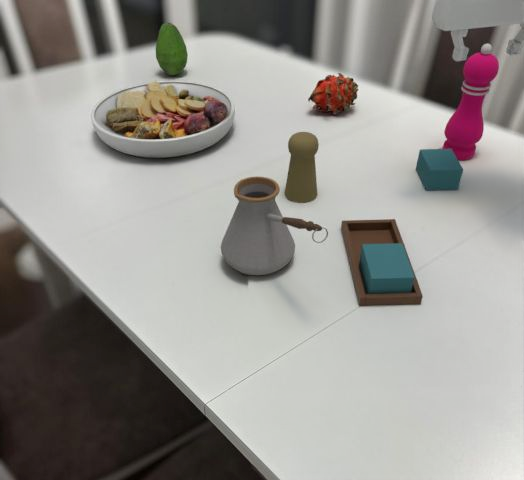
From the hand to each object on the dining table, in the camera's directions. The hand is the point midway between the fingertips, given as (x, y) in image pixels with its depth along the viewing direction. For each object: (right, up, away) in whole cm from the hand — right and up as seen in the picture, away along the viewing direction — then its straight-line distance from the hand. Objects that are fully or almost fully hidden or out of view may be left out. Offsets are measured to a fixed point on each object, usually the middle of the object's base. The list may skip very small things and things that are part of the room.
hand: (486, 56), depth 82 cm
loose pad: (-2, -13, +18) cm, 23 cm away
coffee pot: (-33, -35, -1) cm, 48 cm away
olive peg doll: (-28, -17, +15) cm, 36 cm away
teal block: (-17, -35, -3) cm, 39 cm away
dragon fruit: (-19, +9, +39) cm, 44 cm away
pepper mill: (+5, -6, +25) cm, 26 cm away
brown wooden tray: (-17, -33, 0) cm, 37 cm away
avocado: (-58, +26, +56) cm, 84 cm away
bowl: (-55, +2, +33) cm, 65 cm away
